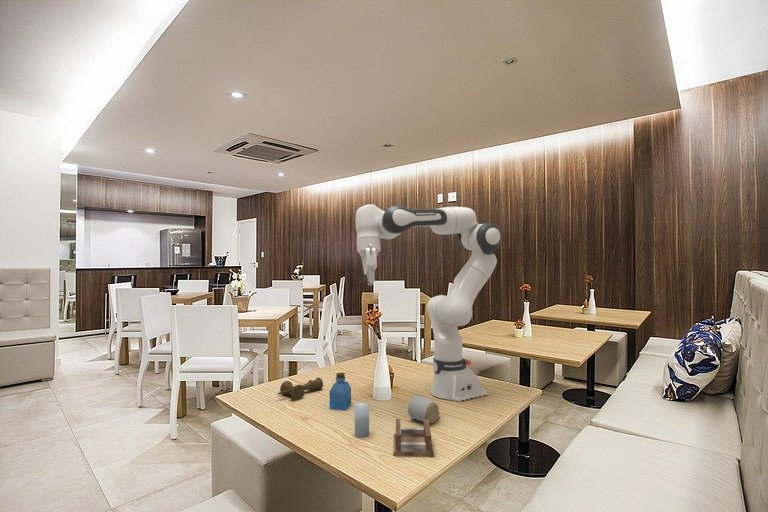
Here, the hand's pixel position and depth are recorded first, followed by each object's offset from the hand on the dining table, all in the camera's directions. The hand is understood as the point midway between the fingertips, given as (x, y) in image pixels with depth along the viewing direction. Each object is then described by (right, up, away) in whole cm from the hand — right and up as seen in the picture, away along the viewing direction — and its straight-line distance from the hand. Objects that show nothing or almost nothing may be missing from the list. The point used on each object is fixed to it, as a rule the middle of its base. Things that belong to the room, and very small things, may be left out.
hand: (371, 283), depth 140 cm
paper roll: (-2, -45, -23) cm, 50 cm away
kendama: (-29, -46, +12) cm, 55 cm away
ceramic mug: (+19, -45, -12) cm, 50 cm away
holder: (+13, -45, -31) cm, 56 cm away
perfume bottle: (-11, -45, -1) cm, 47 cm away
